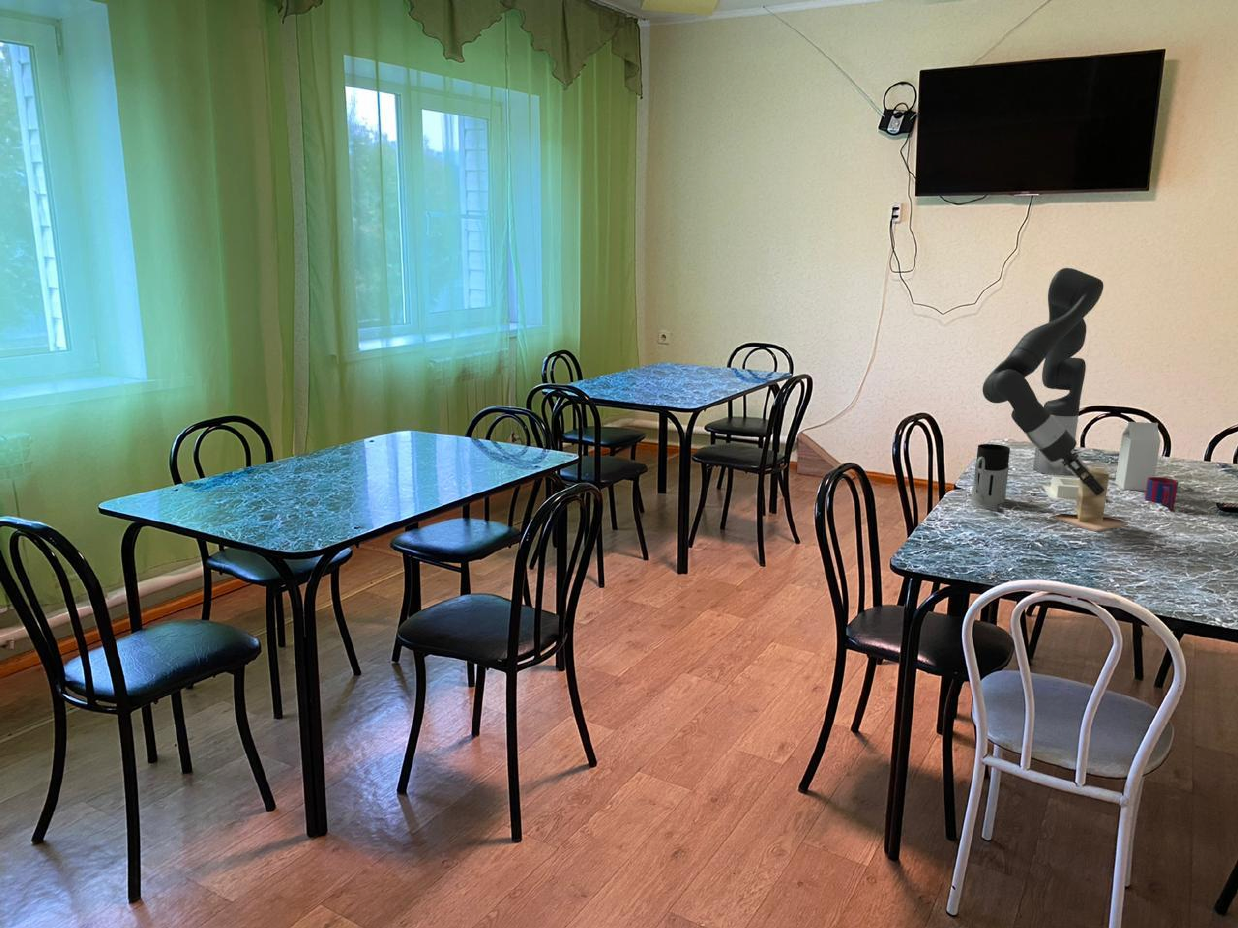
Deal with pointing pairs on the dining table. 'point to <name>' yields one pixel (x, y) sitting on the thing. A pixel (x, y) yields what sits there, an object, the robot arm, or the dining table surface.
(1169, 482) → the mug
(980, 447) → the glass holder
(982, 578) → the dining table surface
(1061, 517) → the terracotta mat
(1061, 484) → the socket stand
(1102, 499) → the oak bar
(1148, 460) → the milk carton
